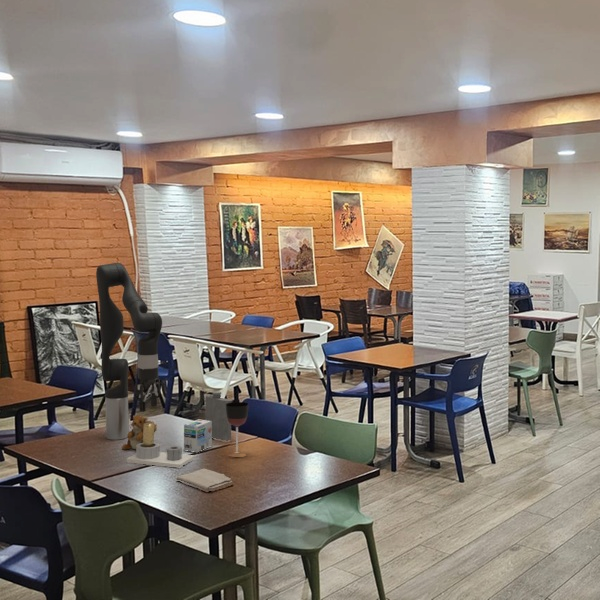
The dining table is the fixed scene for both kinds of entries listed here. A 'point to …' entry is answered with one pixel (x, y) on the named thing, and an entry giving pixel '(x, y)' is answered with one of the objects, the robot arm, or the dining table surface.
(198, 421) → the light bulb box
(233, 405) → the wineglass
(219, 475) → the washcloth
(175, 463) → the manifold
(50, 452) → the dining table surface
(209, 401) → the grey upright flat block
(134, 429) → the stuffed squirrel
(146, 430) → the brass cylinder
